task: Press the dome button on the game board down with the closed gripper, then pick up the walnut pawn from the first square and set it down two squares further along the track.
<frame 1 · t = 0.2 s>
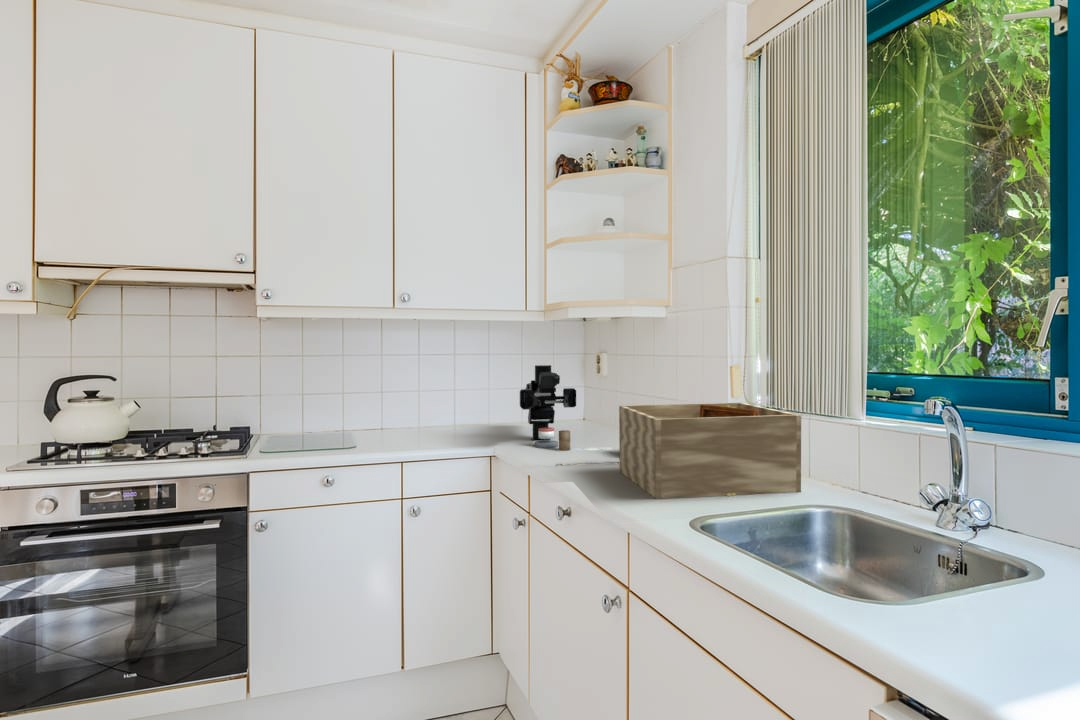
hand: (552, 401, 193), 17 cm above the worktop, tool horizontal, fingers open, 9 cm apart
dome: (546, 433, 200), point 5 cm above the worktop, slide at 0.0 cm
game set: (703, 483, 155), on the worktop, touching crate
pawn: (564, 450, 193), point 1 cm above the worktop, touching board
crate: (703, 480, 154), on the worktop
board: (572, 451, 197), on the worktop
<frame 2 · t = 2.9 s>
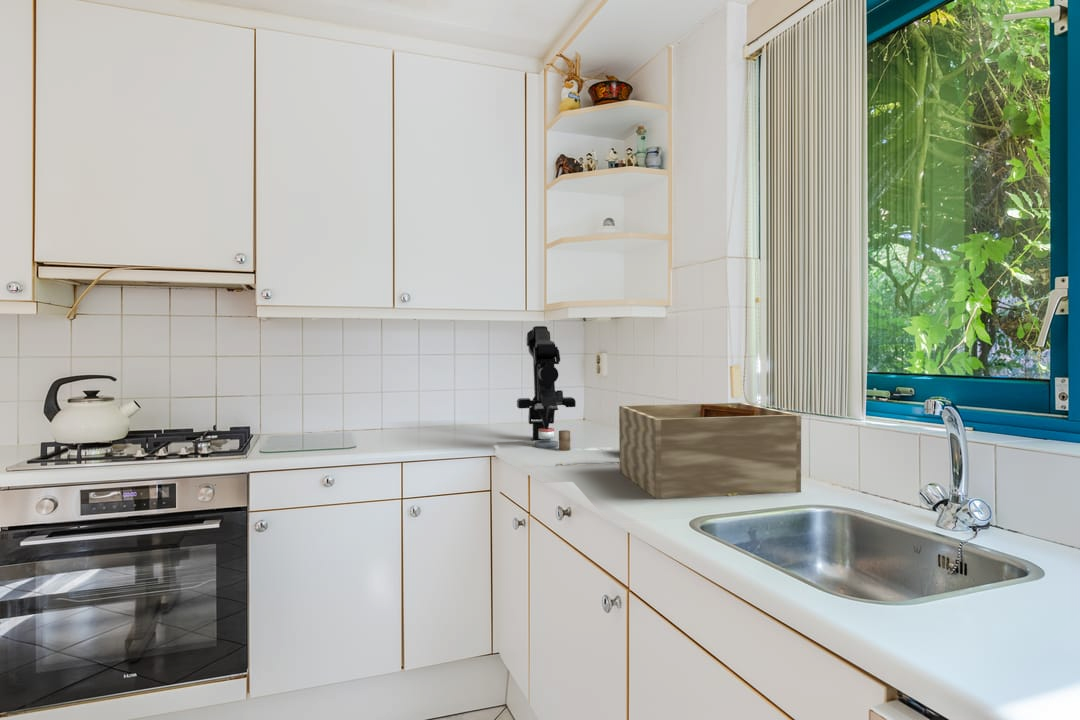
hand: (546, 428, 200), 7 cm above the worktop, tool pointing down, fingers closed, pressing on dome
dome: (546, 433, 200), point 5 cm above the worktop, slide at -0.1 cm, touching gripper
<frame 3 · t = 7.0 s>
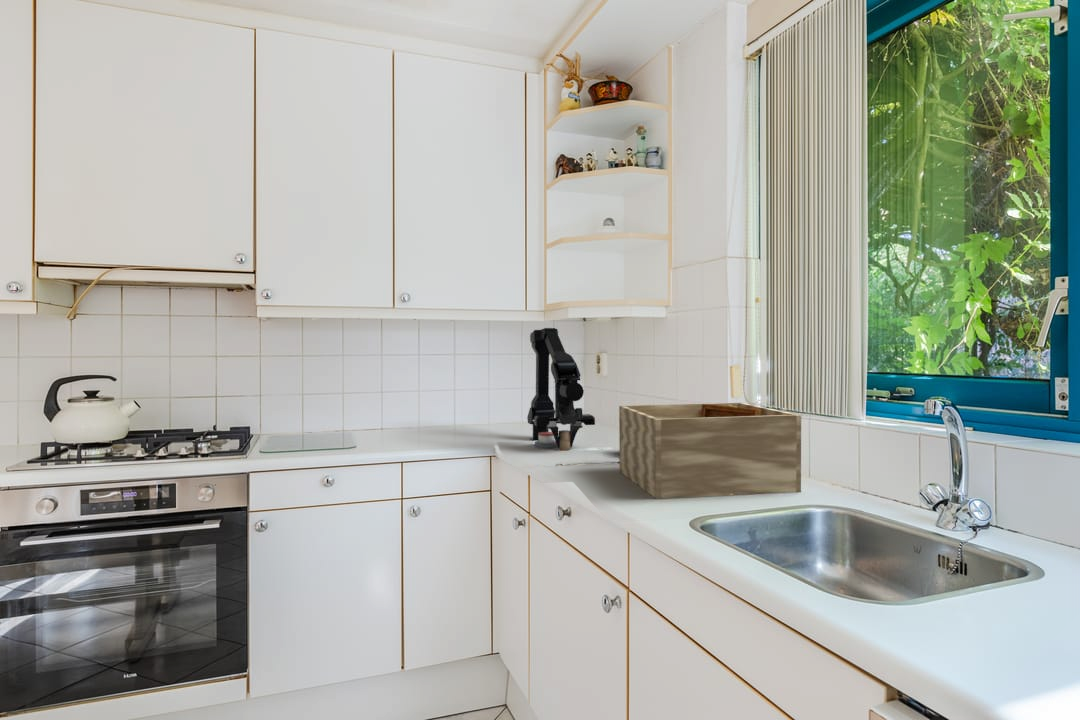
hand: (564, 447, 193), 2 cm above the worktop, tool pointing down, fingers closed on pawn, 4 cm apart
dome: (546, 437, 200), point 4 cm above the worktop, slide at -1.5 cm
game set: (705, 482, 155), on the worktop
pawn: (564, 450, 193), point 1 cm above the worktop, touching board, gripper
everything else where it was.
when the fingers open (3 cm above the worktop, at t = 10.4 s): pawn drops 1 cm, resting on board.
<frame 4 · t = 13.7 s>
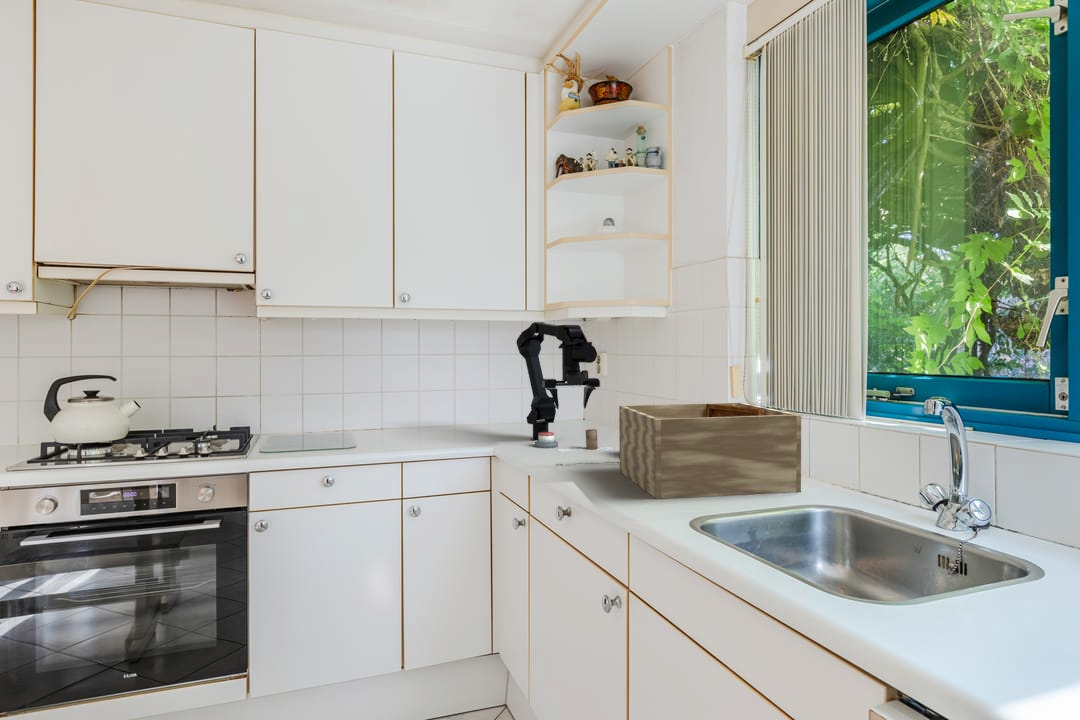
hand: (571, 408, 204), 13 cm above the worktop, tool pointing down, fingers open, 9 cm apart
game set: (708, 482, 156), on the worktop
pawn: (592, 448, 194), point 1 cm above the worktop, touching board
at the end: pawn 0.1 cm from the target spot, point 1.3 cm above the worktop; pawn tilted 2°; dome slide at -1.5 cm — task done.
